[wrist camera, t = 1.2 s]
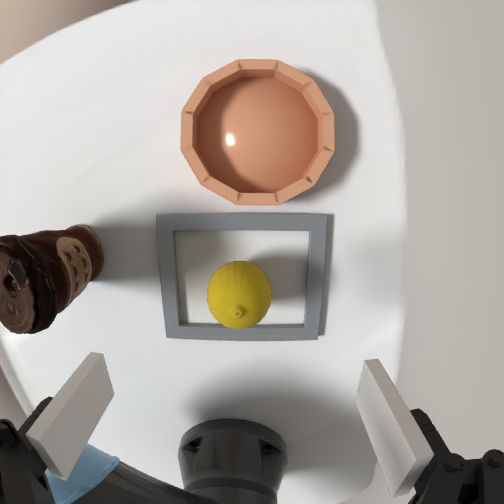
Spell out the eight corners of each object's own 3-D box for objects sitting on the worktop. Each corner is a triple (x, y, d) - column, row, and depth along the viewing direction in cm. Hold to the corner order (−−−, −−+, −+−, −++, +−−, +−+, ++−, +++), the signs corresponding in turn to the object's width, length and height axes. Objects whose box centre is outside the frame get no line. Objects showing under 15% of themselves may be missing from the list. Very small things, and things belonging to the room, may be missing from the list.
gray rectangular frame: (316, 336, 32) (317, 339, 31) (168, 334, 32) (166, 337, 31) (325, 214, 28) (327, 215, 28) (158, 214, 29) (156, 215, 28)
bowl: (325, 203, 28) (333, 206, 25) (188, 202, 28) (181, 205, 25) (324, 74, 25) (332, 64, 22) (190, 73, 25) (183, 62, 22)
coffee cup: (114, 215, 29) (35, 242, 16) (118, 292, 31) (54, 353, 18) (50, 215, 29) (-32, 238, 16) (56, 285, 30) (-14, 332, 18)
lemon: (221, 309, 31) (211, 350, 23) (207, 258, 30) (191, 286, 22) (274, 299, 31) (280, 338, 23) (262, 246, 29) (266, 271, 22)
